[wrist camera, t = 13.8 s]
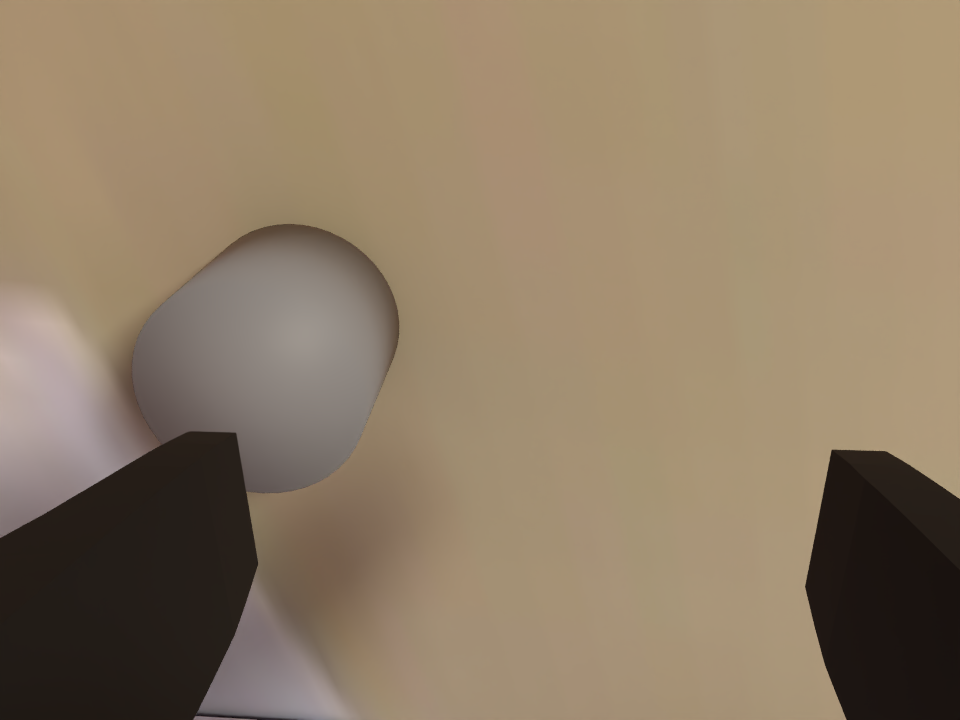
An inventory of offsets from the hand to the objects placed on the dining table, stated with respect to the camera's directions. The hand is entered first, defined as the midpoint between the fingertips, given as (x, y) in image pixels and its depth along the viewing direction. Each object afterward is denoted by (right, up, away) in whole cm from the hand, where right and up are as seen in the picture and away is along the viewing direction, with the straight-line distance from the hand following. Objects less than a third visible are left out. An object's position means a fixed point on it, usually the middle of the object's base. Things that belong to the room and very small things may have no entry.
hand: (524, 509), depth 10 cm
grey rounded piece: (-5, +3, +11) cm, 12 cm away
